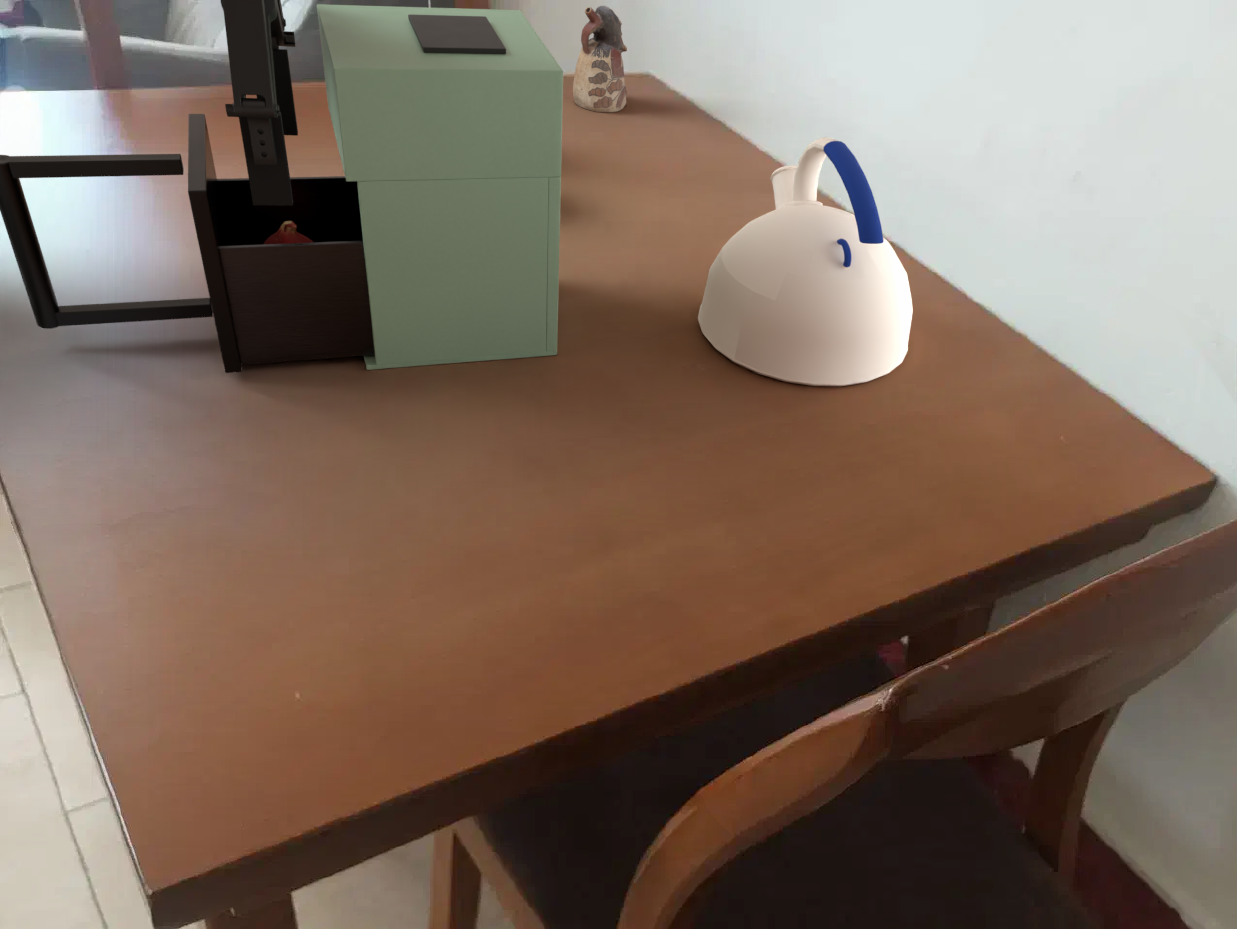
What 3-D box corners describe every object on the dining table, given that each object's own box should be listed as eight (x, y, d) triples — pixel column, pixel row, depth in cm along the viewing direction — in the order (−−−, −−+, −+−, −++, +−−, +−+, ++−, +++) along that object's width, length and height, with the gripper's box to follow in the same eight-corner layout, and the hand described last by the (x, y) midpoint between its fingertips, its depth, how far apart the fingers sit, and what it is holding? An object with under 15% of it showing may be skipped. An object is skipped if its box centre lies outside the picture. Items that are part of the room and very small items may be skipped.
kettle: (856, 276, 114) (894, 100, 102) (944, 381, 99) (999, 191, 88) (671, 283, 108) (689, 97, 96) (736, 396, 93) (766, 193, 81)
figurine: (635, 110, 144) (642, 13, 136) (587, 114, 141) (591, 15, 133) (611, 91, 148) (615, -3, 141) (563, 95, 145) (566, -2, 137)
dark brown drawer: (32, 388, 81) (-34, 196, 71) (50, 292, 91) (-6, 113, 82) (420, 358, 90) (408, 185, 81) (397, 275, 101) (383, 112, 91)
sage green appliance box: (366, 370, 89) (333, 62, 74) (348, 284, 100) (315, -2, 84) (557, 355, 95) (563, 64, 79) (521, 275, 105) (520, 4, 89)
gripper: (186, -192, 78) (235, 107, 92) (141, -120, 60) (211, 237, 74) (297, -181, 80) (329, 110, 94) (285, -108, 62) (327, 237, 76)
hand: (277, 167), depth 84 cm, fingers open, 13 cm apart
